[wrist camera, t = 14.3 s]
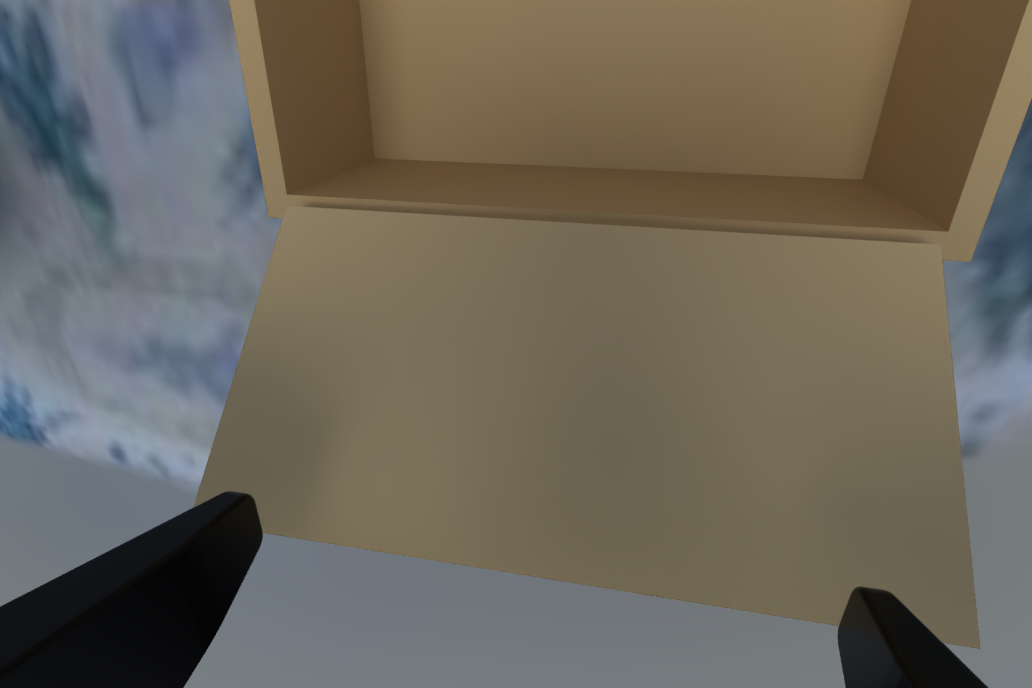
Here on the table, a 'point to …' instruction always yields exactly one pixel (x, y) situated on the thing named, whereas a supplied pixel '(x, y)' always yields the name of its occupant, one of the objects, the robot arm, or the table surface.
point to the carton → (644, 111)
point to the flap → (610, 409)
